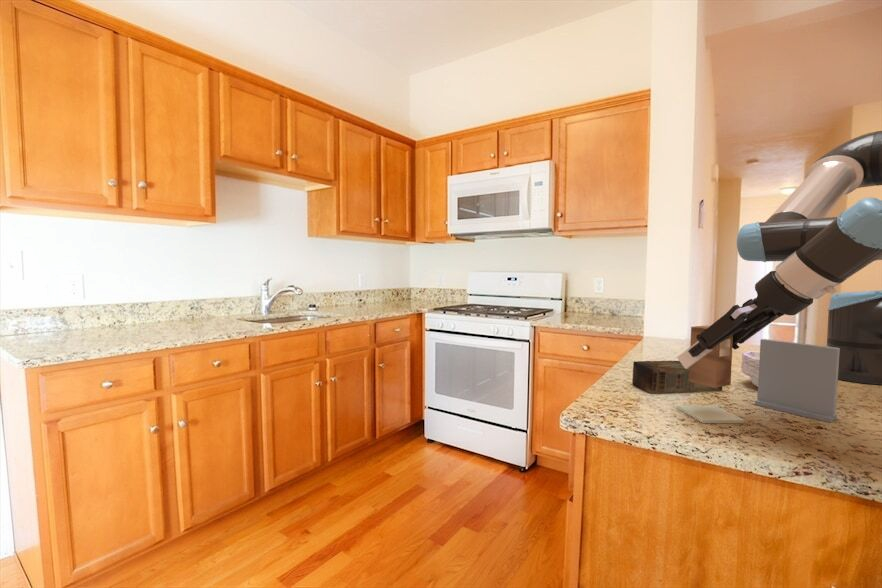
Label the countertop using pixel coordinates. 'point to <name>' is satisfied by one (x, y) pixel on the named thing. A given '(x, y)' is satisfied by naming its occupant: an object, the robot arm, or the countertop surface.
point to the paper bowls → (751, 365)
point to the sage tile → (709, 414)
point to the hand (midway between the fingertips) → (691, 361)
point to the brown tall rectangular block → (712, 363)
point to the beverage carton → (665, 377)
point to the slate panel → (798, 378)
